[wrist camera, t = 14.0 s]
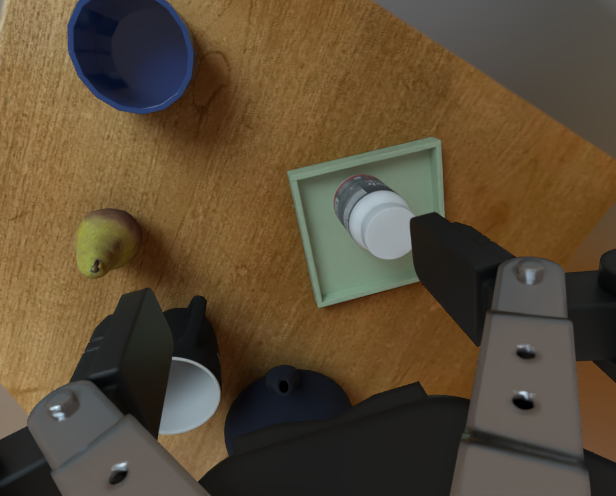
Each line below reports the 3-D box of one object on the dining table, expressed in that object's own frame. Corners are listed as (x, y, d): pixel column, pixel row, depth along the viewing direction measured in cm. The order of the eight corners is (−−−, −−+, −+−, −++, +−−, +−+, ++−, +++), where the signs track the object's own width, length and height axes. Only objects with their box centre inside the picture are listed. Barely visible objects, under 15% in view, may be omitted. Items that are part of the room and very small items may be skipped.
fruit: (74, 206, 38) (13, 261, 27) (138, 196, 39) (102, 246, 28) (95, 259, 40) (46, 329, 29) (154, 249, 41) (127, 314, 30)
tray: (286, 171, 40) (289, 176, 38) (432, 136, 41) (441, 139, 40) (314, 299, 47) (318, 308, 45) (439, 266, 48) (448, 273, 46)
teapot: (350, 453, 58) (378, 543, 47) (241, 478, 56) (244, 579, 45) (338, 305, 48) (371, 377, 36) (203, 330, 46) (195, 414, 35)
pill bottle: (395, 189, 42) (440, 222, 33) (364, 234, 44) (399, 277, 35) (352, 161, 40) (386, 188, 31) (321, 209, 42) (345, 248, 33)
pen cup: (73, 7, 32) (45, -4, 27) (179, -14, 33) (170, -29, 28) (115, 116, 36) (97, 124, 31) (210, 95, 36) (207, 100, 31)
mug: (206, 371, 48) (201, 443, 39) (128, 353, 45) (103, 425, 36) (244, 287, 44) (248, 343, 35) (161, 261, 42) (143, 315, 32)
